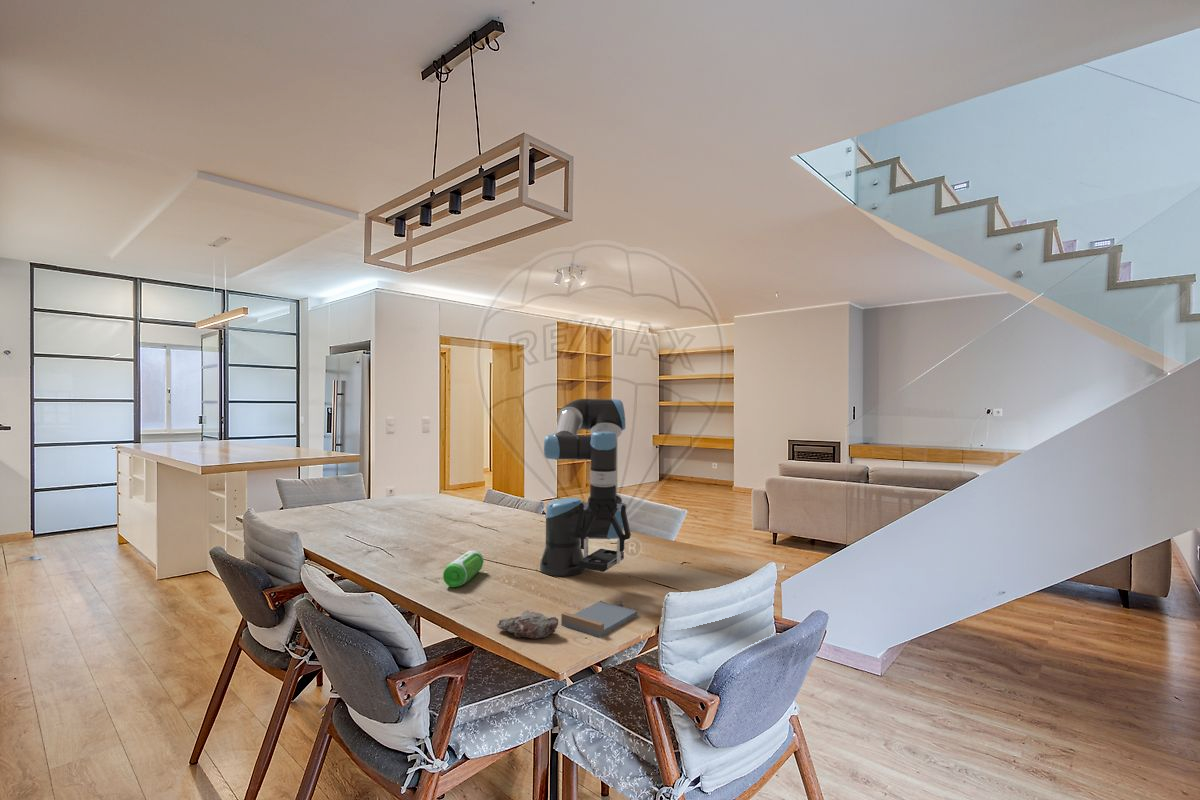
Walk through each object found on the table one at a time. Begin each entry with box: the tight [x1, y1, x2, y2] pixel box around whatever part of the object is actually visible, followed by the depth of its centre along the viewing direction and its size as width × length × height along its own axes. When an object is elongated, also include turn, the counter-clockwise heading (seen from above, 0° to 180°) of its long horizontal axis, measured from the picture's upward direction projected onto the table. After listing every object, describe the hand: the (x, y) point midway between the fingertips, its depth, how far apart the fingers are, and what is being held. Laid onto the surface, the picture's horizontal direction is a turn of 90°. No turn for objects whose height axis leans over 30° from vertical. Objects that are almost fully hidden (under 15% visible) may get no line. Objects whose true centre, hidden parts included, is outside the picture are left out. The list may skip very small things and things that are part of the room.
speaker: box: [442, 550, 484, 588], centre depth 177 cm, size 18×7×8 cm, turn 172°
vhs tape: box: [579, 548, 625, 573], centre depth 165 cm, size 14×8×2 cm, turn 154°
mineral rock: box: [496, 610, 559, 640], centre depth 136 cm, size 15×8×4 cm, turn 60°
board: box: [560, 600, 638, 638], centre depth 146 cm, size 12×19×3 cm, turn 145°
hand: (602, 561), depth 165 cm, fingers closed on vhs tape, 9 cm apart
